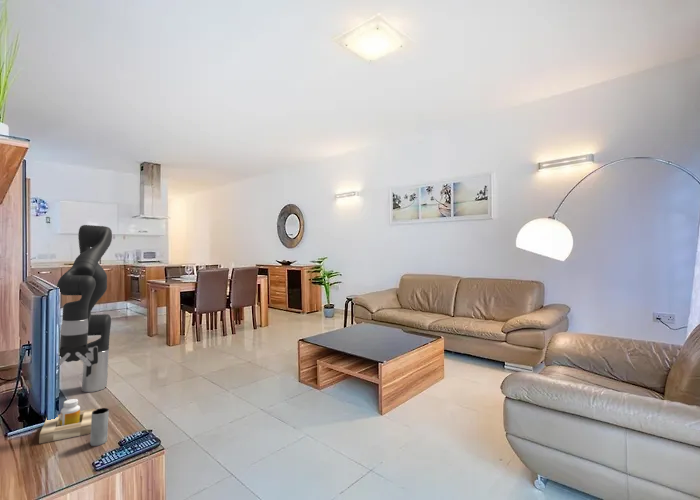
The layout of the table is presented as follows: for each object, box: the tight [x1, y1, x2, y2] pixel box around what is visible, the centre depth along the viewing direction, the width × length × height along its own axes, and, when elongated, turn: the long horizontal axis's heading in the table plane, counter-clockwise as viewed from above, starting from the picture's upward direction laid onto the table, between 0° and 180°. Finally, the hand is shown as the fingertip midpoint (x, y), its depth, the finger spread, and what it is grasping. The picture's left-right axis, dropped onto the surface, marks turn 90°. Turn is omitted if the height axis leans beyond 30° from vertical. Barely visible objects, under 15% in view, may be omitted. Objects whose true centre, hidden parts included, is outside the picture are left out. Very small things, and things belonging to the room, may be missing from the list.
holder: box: [38, 408, 97, 444], centre depth 122 cm, size 14×14×3 cm
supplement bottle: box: [60, 398, 81, 426], centre depth 122 cm, size 5×5×10 cm
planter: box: [89, 407, 110, 447], centre depth 114 cm, size 4×4×10 cm
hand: (72, 378), depth 122 cm, fingers open, 8 cm apart
